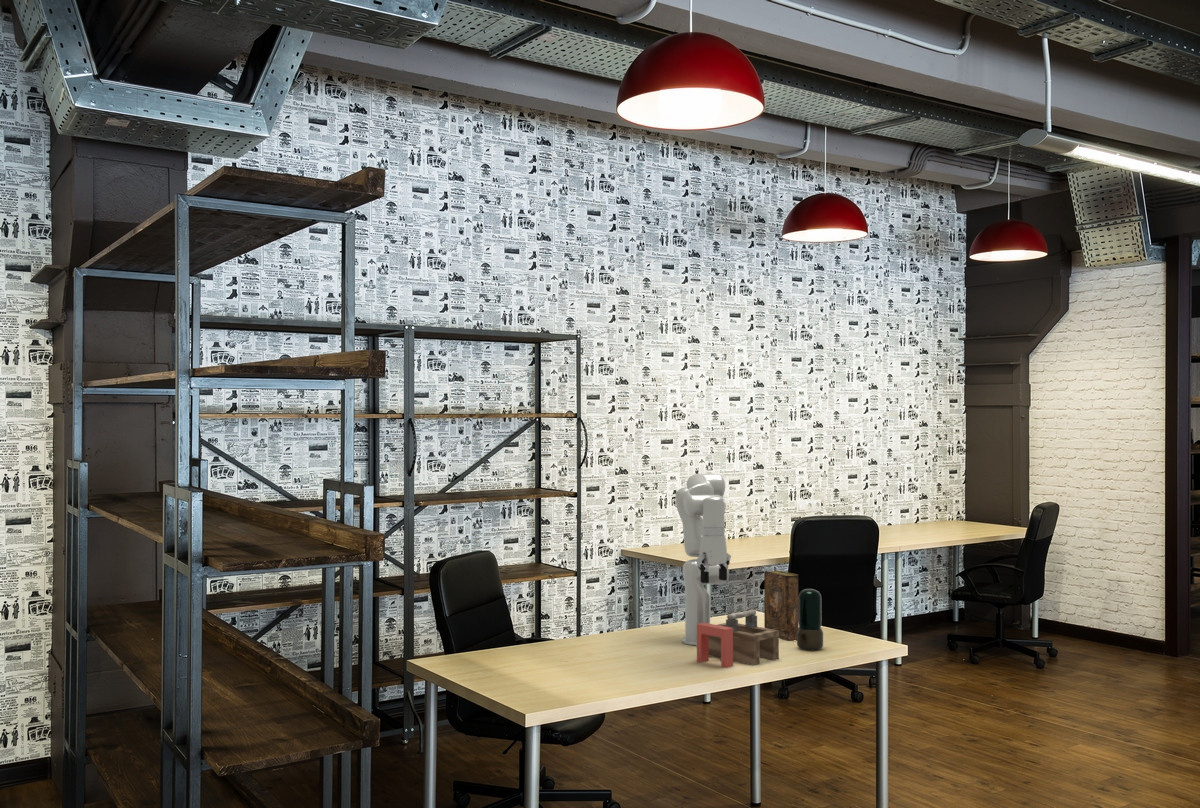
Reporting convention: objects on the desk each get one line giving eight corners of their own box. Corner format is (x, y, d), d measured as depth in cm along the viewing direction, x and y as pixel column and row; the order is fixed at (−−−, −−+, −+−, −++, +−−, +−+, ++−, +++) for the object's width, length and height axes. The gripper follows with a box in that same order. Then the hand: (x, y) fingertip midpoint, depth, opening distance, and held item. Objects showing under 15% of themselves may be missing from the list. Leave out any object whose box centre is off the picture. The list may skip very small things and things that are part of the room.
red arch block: (704, 659, 353) (704, 622, 353) (733, 665, 343) (732, 628, 344) (696, 661, 350) (696, 624, 350) (725, 667, 341) (725, 629, 341)
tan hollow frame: (730, 648, 370) (730, 605, 370) (778, 658, 354) (778, 613, 354) (705, 654, 360) (705, 610, 361) (754, 665, 344) (754, 618, 345)
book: (800, 640, 386) (800, 575, 386) (788, 641, 383) (788, 576, 384) (775, 632, 400) (775, 569, 401) (764, 633, 398) (764, 570, 399)
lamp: (823, 651, 365) (823, 591, 365) (796, 650, 367) (796, 590, 367) (823, 646, 374) (822, 587, 375) (797, 645, 376) (796, 586, 377)
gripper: (721, 529, 357) (721, 577, 356) (689, 533, 345) (689, 582, 344) (737, 531, 351) (738, 580, 351) (705, 534, 340) (705, 585, 339)
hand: (713, 581), depth 348 cm, fingers open, 9 cm apart
